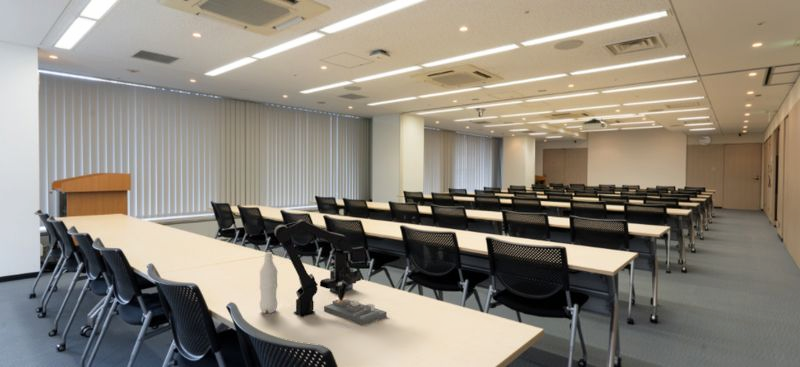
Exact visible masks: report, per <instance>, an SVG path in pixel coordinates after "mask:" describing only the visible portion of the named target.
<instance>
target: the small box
mask: <svg viewBox="0 0 800 367" xmlns="http://www.w3.org/2000/svg"><path fill="white" fill-rule="evenodd" d="M350 271H351V272H352V271H354V269H353V268H350ZM329 272H330V274H329V275H330V276H329V279H332V280H334V279H335V278H333V275H335V269H332V270H330V271H329ZM338 281H340V280H338ZM353 288H354V284H351V285H349V286H348V287H347V289H346V291H345V292H347V291H351V290H353ZM329 292H332V293H335V294H337V293H336V291H335V289H334V288H330V289H329Z"/></svg>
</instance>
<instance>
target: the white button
mask: <svg viewBox="0 0 800 367" xmlns="http://www.w3.org/2000/svg"><path fill="white" fill-rule="evenodd" d="M359 303H360V300H358V299H354V300H351V307H359Z"/></svg>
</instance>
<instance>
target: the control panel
mask: <svg viewBox="0 0 800 367" xmlns="http://www.w3.org/2000/svg"><path fill="white" fill-rule="evenodd" d="M344 299H345V298H344ZM337 300H338V299H335V300H332V303H330V304H327V305H326V304H325V305H324V306H323V311H324V312H327V313H329V314H331V315H334V316H337V317H340V318H342V319H345V320H347V321H350V322H353V323H356V324H357V325H362V326H363V325H364V326H365V325H369V324H371V323H374V322H376V320H377V321H379V320H382V319H385V318H387V311H385V310H382V309H379V308H377V307H375V311H374V312H371V313H367V312H366V305H367V304H363V303H361V302H359V307H351V301H352V300H351V299H348V298H346V299H345V302H342V303H339V302H337Z"/></svg>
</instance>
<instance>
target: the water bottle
mask: <svg viewBox="0 0 800 367" xmlns="http://www.w3.org/2000/svg"><path fill="white" fill-rule="evenodd" d="M273 257H274V256H273V252H272V251H271V252H270V251H267V252H265V253H264V257H263V260H264V262H263V264H262V265H261V268H260V270H259V290H260V300H259V309H260V312H261V313H263V314H266V313H267V312H268V313H269V314H273V312H276V310H277V308H278V299H277V290H278V289H277V288H278V269H277V266H276V265H275V262H274V261H273V259H274V258H273Z"/></svg>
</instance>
